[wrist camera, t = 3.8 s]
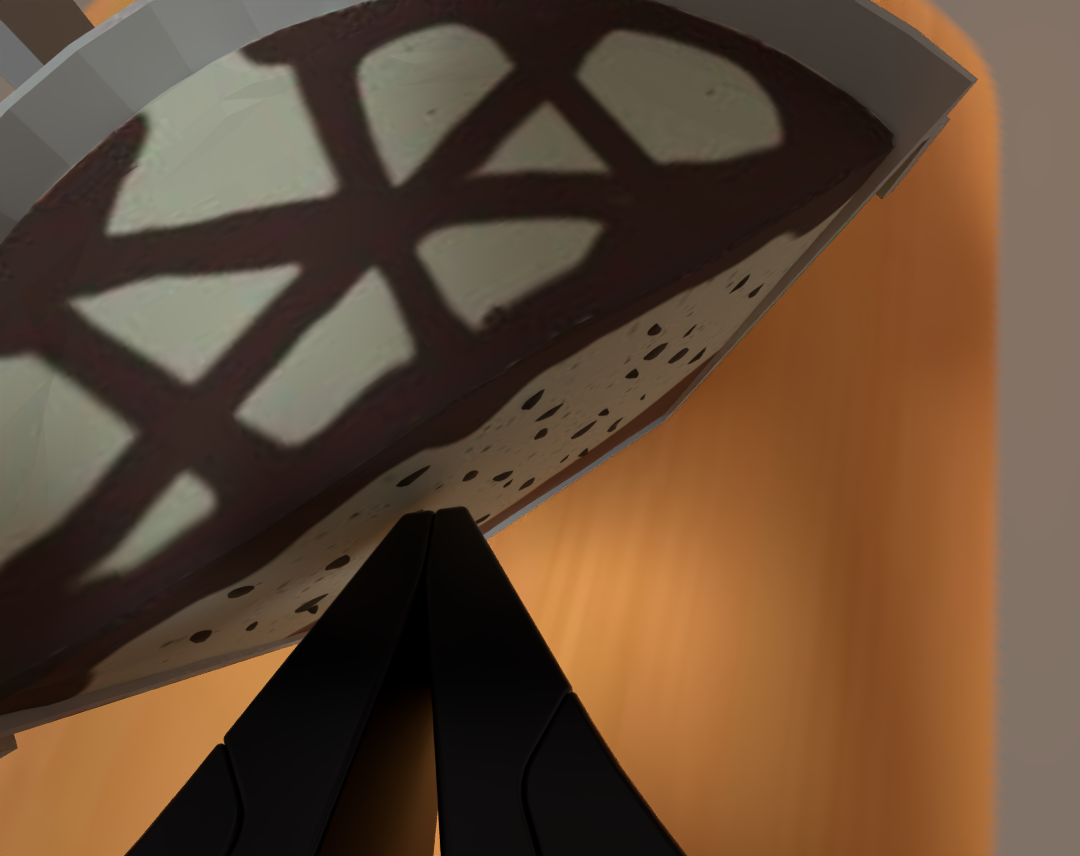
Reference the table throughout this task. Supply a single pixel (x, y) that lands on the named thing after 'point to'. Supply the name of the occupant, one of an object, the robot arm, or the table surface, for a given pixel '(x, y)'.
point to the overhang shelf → (36, 35)
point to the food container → (383, 284)
